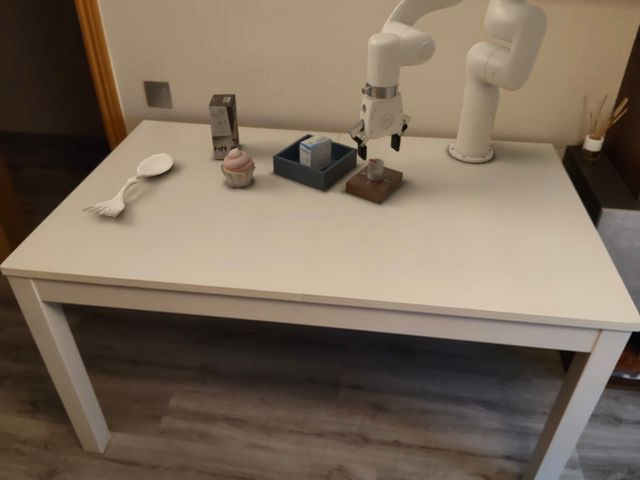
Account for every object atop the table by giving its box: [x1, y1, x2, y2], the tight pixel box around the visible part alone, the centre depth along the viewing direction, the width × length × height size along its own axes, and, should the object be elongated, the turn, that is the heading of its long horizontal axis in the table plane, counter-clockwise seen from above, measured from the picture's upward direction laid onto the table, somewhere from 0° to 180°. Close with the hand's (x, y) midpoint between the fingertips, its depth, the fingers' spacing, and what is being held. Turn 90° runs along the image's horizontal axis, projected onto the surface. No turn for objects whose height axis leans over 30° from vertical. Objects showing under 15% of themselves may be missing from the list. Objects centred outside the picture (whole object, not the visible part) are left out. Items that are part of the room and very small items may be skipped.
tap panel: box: [344, 164, 404, 205], centre depth 143 cm, size 13×10×3 cm
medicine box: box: [300, 133, 332, 170], centre depth 149 cm, size 8×4×9 cm, turn 134°
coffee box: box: [208, 93, 241, 160], centre depth 155 cm, size 9×6×16 cm
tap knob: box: [367, 157, 385, 181], centre depth 141 cm, size 4×4×5 cm
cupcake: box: [220, 148, 257, 189], centre depth 143 cm, size 9×9×10 cm
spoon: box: [82, 153, 174, 218], centre depth 141 cm, size 9×32×4 cm, turn 164°
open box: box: [272, 133, 358, 192], centre depth 150 cm, size 17×17×5 cm
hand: (378, 153), depth 139 cm, fingers open, 9 cm apart
